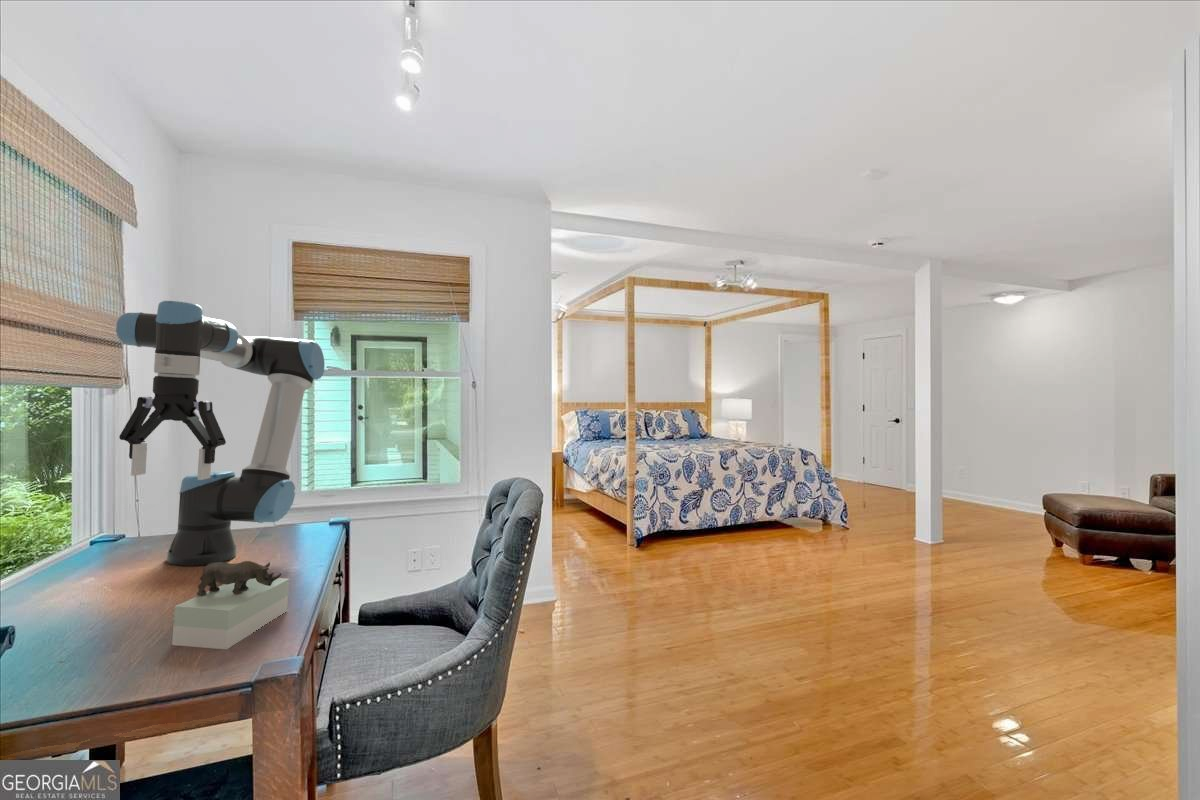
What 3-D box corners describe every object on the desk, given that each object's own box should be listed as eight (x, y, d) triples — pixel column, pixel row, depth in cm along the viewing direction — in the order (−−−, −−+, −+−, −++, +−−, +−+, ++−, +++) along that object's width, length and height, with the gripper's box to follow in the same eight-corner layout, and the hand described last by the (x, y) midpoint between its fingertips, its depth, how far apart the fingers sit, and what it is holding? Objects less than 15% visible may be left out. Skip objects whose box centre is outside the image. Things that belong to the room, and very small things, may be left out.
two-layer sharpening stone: (241, 608, 115) (243, 575, 115) (287, 611, 115) (289, 578, 115) (172, 645, 97) (175, 606, 97) (226, 649, 97) (229, 610, 97)
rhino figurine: (277, 593, 107) (280, 562, 107) (194, 597, 102) (196, 565, 102) (281, 586, 111) (283, 556, 111) (201, 590, 106) (203, 559, 106)
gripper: (100, 371, 109) (94, 475, 110) (224, 379, 110) (218, 483, 110) (131, 372, 117) (126, 470, 117) (248, 380, 117) (242, 477, 118)
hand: (171, 477), depth 114 cm, fingers open, 13 cm apart
